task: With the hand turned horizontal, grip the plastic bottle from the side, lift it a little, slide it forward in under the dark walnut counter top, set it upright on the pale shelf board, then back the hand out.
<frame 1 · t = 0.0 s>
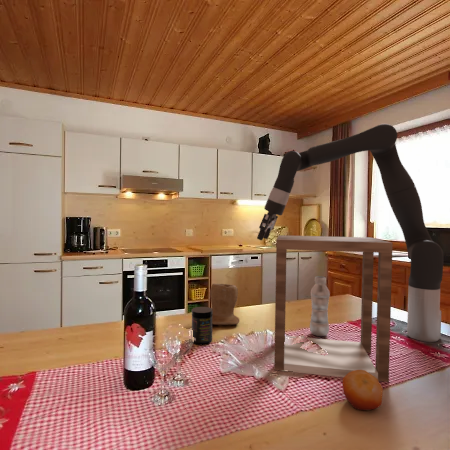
hand: (262, 238, 130), 31 cm above the table, tool tilted 20°, fingers open, 8 cm apart
fruit: (361, 406, 70), on the table
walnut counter: (325, 358, 92), on the table
brown ankle boot: (219, 323, 122), on the table
supplement container: (201, 342, 104), on the table
plastic bottle: (319, 335, 111), on the table
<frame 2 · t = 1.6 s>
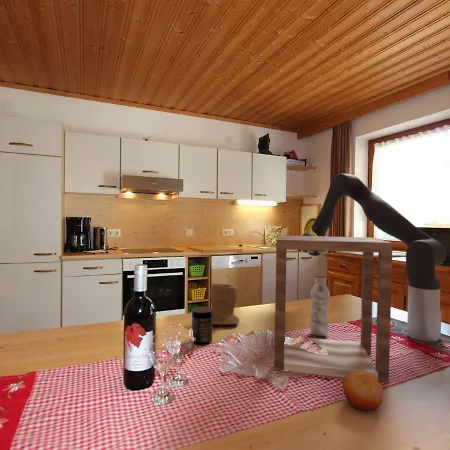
hand: (317, 250, 121), 28 cm above the table, tool horizontal, fingers open, 8 cm apart
nothing on the table moved.
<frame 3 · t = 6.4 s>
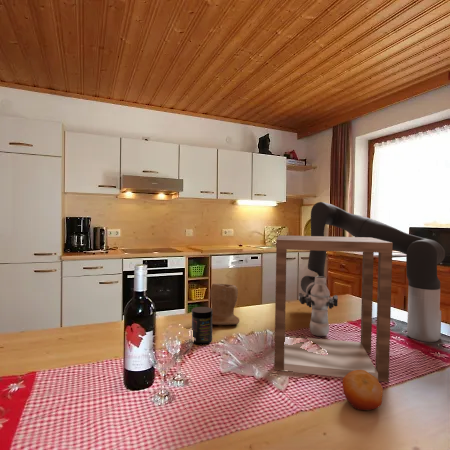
hand: (320, 305, 108), 11 cm above the table, tool horizontal, fingers closed on plastic bottle, 6 cm apart
plastic bottle: (319, 335, 111), on the table, touching gripper
everything else where it was.
when the fingers open (14 cm above the table, at t = 12.4 s): plastic bottle stays where it is, resting on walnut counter.
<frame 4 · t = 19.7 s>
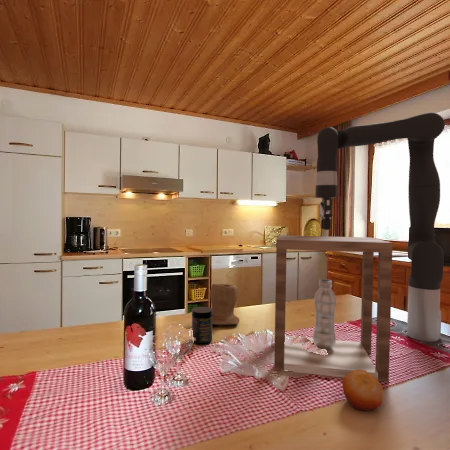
hand: (325, 229, 117), 36 cm above the table, tool pointing down, fingers open, 8 cm apart
plastic bottle: (324, 348, 95), point 2 cm above the table, touching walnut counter
everything else where it was.
at the end: plastic bottle inside the target area on the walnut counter (0.2 cm from its centre), point 1.8 cm above the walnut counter's base; plastic bottle tilted 0°; the gripper is holding nothing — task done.
